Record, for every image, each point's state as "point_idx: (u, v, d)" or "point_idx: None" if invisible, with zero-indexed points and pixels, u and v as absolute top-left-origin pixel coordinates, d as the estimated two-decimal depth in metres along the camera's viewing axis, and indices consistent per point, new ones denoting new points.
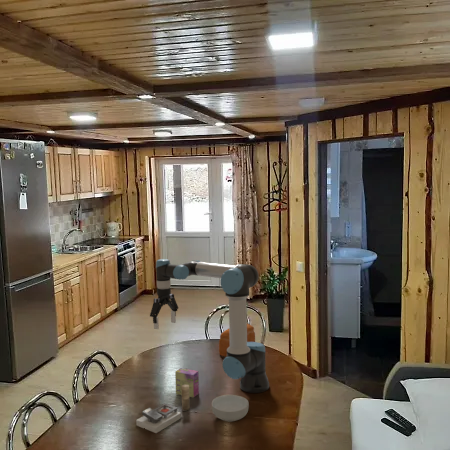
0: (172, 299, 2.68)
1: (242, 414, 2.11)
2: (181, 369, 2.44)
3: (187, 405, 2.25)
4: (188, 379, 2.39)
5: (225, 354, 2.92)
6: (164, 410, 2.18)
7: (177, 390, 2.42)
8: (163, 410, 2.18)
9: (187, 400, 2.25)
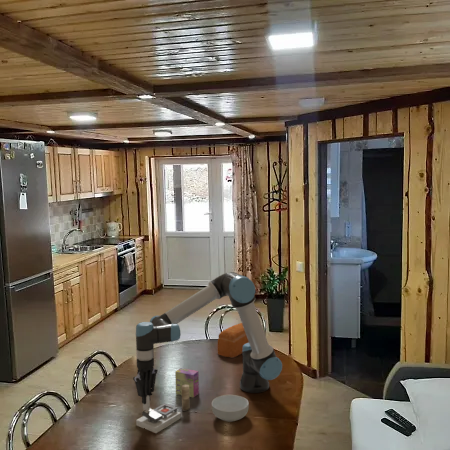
0: (153, 375, 2.15)
1: (242, 414, 2.11)
2: (181, 369, 2.44)
3: (187, 405, 2.25)
4: (188, 379, 2.39)
5: (223, 353, 2.93)
6: (164, 410, 2.18)
7: (177, 390, 2.42)
8: (163, 410, 2.18)
9: (187, 400, 2.25)
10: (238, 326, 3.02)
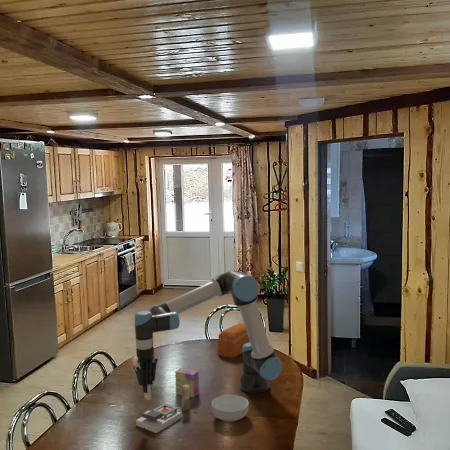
0: (153, 364, 2.14)
1: (242, 414, 2.11)
2: (181, 369, 2.44)
3: (187, 405, 2.25)
4: (188, 379, 2.39)
5: (223, 354, 2.93)
6: (164, 410, 2.18)
7: (177, 390, 2.42)
8: (163, 410, 2.18)
9: (187, 400, 2.25)
10: (238, 326, 3.02)
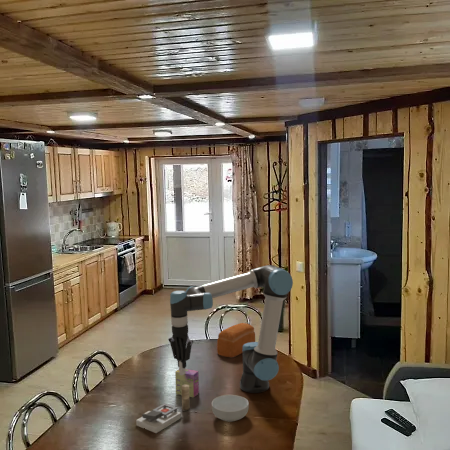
0: (187, 345, 2.20)
1: (242, 414, 2.11)
2: None
3: (187, 405, 2.25)
4: (188, 379, 2.39)
5: (222, 353, 2.94)
6: (164, 410, 2.18)
7: (177, 390, 2.42)
8: (163, 410, 2.18)
9: (187, 400, 2.25)
10: (238, 326, 3.02)
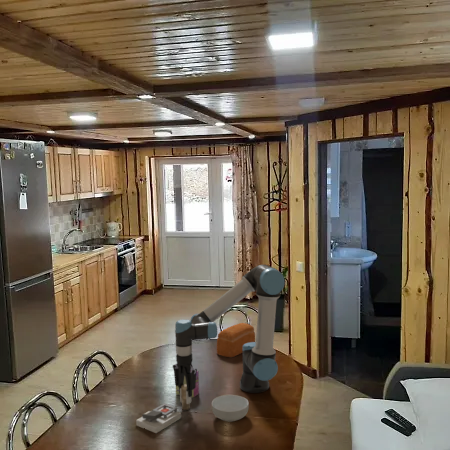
0: None
1: (242, 414, 2.11)
2: None
3: (187, 405, 2.25)
4: None
5: (222, 353, 2.94)
6: (164, 410, 2.18)
7: (177, 390, 2.42)
8: (163, 410, 2.18)
9: None
10: (238, 326, 3.02)
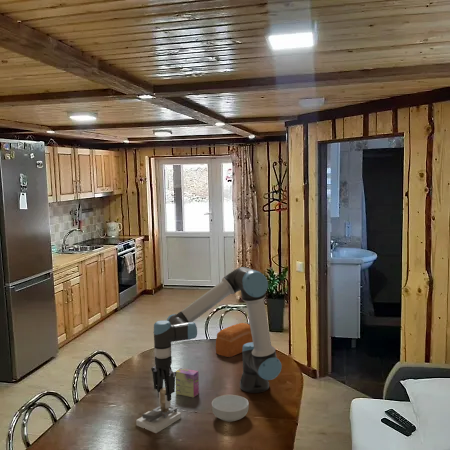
0: (170, 378, 2.14)
1: (242, 414, 2.11)
2: (181, 369, 2.44)
3: (166, 409, 2.16)
4: (188, 379, 2.39)
5: (220, 353, 2.95)
6: None
7: (177, 390, 2.42)
8: None
9: None
10: (237, 326, 3.02)
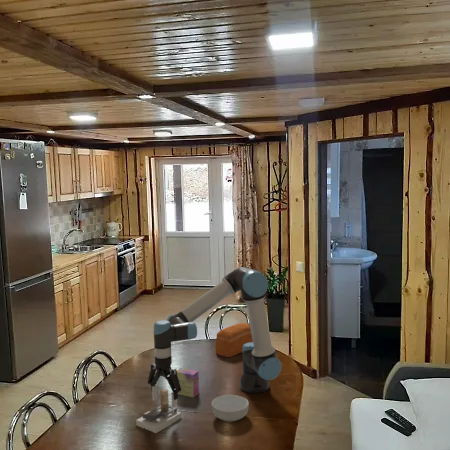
0: None
1: (242, 414, 2.11)
2: (181, 369, 2.44)
3: (166, 410, 2.17)
4: (188, 379, 2.39)
5: (220, 353, 2.95)
6: None
7: None
8: None
9: (166, 405, 2.16)
10: (237, 326, 3.02)
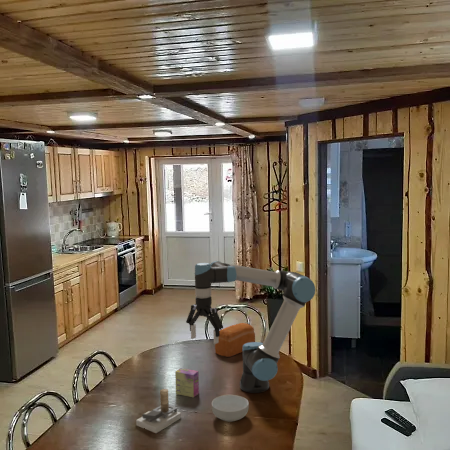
0: (213, 314, 2.22)
1: (242, 414, 2.11)
2: (181, 369, 2.44)
3: (166, 410, 2.17)
4: (188, 379, 2.39)
5: (219, 352, 2.95)
6: None
7: (177, 390, 2.42)
8: None
9: (166, 405, 2.16)
10: (237, 326, 3.03)
